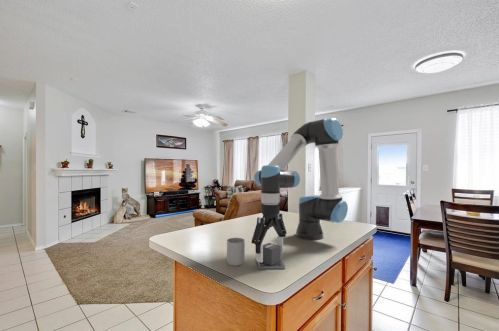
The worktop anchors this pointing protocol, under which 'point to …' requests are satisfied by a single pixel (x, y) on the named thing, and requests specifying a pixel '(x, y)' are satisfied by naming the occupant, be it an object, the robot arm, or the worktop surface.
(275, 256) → the dark grey cube
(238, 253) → the cup
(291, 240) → the worktop surface
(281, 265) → the base plate
